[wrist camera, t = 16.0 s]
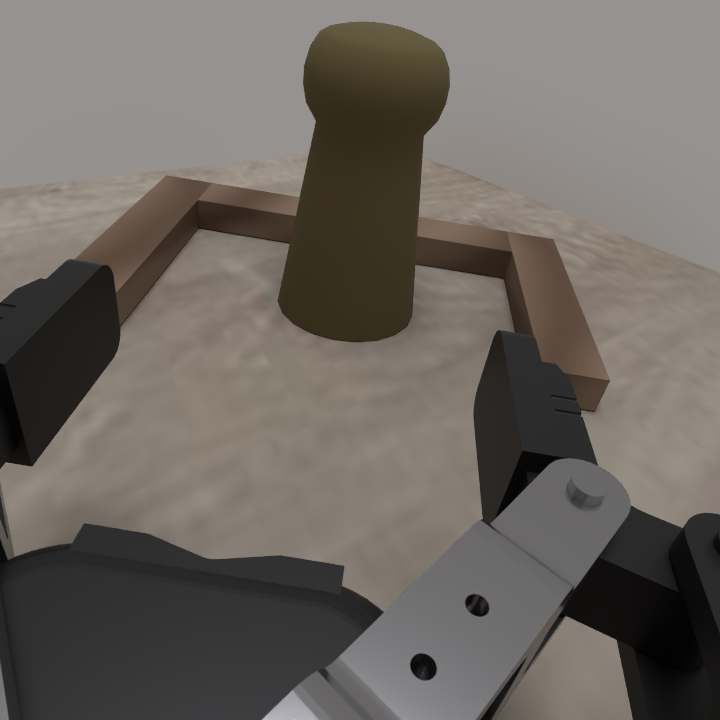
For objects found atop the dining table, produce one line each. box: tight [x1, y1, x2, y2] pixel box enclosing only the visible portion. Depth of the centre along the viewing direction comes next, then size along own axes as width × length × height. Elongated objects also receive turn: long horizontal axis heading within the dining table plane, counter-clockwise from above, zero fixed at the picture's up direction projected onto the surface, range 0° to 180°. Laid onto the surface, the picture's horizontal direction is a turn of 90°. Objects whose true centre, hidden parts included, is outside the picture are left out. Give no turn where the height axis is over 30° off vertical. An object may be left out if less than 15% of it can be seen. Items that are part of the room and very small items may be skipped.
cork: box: [278, 22, 450, 342], centre depth 24 cm, size 6×6×11 cm
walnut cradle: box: [74, 176, 610, 411], centre depth 27 cm, size 21×12×2 cm, turn 84°
